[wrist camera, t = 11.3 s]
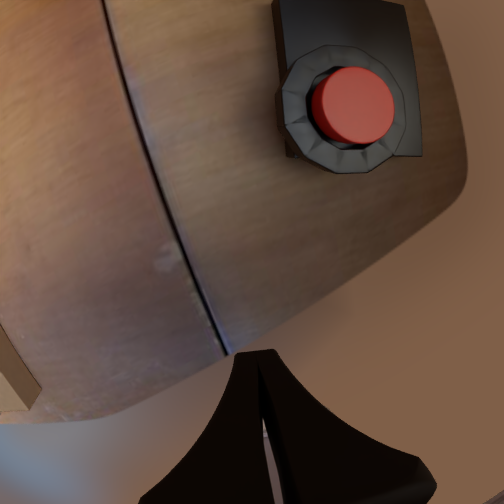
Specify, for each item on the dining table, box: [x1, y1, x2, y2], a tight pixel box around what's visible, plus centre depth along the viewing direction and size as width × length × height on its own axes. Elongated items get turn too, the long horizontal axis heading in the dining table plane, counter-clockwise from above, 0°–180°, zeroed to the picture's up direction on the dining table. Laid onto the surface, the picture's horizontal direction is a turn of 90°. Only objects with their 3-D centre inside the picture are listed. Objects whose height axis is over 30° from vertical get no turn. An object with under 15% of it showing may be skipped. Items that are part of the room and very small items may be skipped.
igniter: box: [311, 66, 395, 144], centre depth 13 cm, size 4×4×2 cm
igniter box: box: [271, 0, 422, 174], centre depth 15 cm, size 11×9×4 cm
